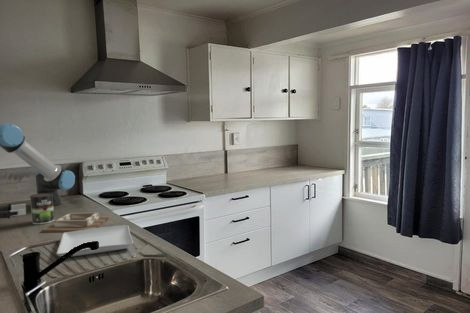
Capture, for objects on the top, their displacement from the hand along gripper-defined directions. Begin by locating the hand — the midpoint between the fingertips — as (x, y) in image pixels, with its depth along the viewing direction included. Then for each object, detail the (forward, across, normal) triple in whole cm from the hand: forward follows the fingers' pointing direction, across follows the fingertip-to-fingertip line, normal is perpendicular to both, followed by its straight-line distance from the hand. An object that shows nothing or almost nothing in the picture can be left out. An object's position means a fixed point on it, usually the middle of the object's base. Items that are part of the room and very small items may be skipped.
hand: (26, 208), depth 181 cm
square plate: (+25, +54, -8) cm, 60 cm away
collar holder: (+22, +16, -8) cm, 29 cm away
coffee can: (+7, 0, -8) cm, 11 cm away
